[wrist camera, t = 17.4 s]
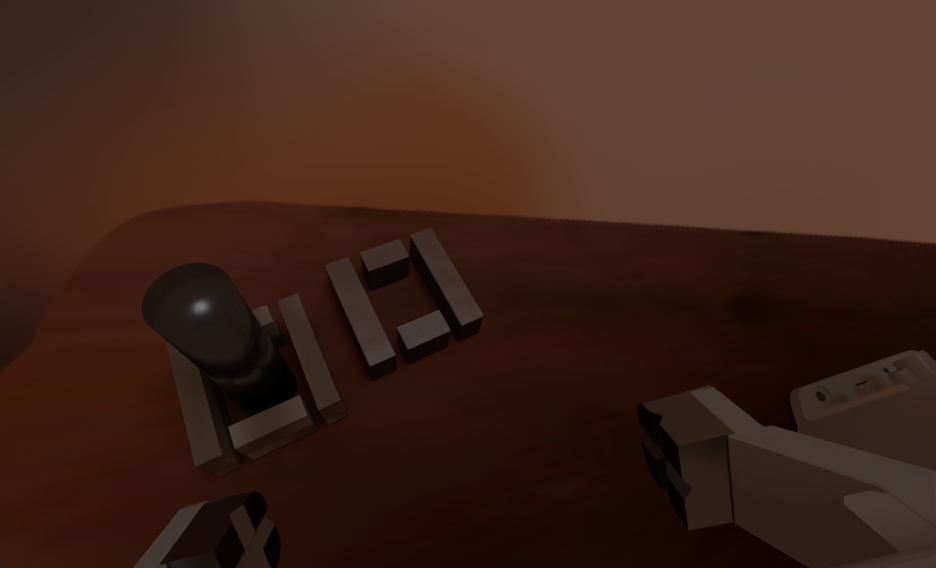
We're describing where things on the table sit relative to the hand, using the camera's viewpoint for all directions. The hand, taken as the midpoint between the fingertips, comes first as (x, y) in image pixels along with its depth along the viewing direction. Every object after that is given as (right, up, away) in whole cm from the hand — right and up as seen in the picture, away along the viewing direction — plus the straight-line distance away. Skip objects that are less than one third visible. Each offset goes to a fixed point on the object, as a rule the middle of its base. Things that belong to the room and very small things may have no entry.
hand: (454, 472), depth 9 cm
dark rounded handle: (-15, -4, +24) cm, 28 cm away
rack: (-15, -4, +24) cm, 28 cm away
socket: (-5, +2, +29) cm, 29 cm away
